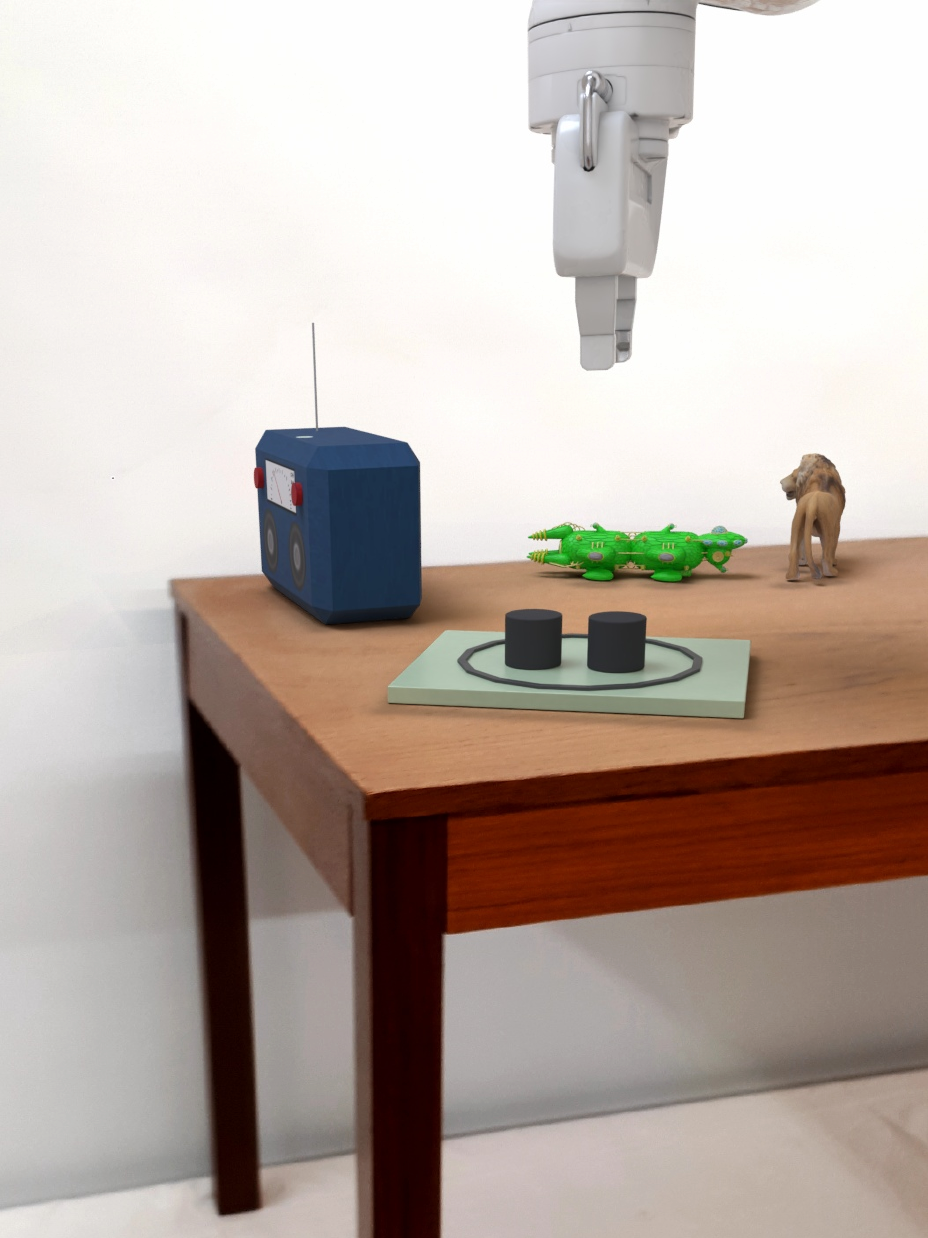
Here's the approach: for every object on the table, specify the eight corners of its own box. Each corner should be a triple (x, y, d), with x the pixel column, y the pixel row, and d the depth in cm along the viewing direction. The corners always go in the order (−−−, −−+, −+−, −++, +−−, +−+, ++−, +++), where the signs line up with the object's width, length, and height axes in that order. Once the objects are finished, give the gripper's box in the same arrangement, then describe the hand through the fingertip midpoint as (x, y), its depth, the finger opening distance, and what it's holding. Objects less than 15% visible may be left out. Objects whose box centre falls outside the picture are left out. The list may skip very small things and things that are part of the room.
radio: (250, 584, 121) (235, 323, 114) (352, 576, 124) (344, 321, 116) (314, 632, 103) (301, 325, 95) (432, 622, 106) (429, 323, 98)
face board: (750, 655, 94) (751, 636, 94) (743, 718, 80) (745, 697, 79) (445, 644, 99) (445, 627, 98) (387, 703, 84) (386, 682, 84)
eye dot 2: (646, 661, 89) (649, 611, 87) (641, 674, 86) (644, 623, 84) (590, 659, 89) (592, 610, 88) (583, 672, 86) (585, 621, 85)
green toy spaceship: (746, 584, 118) (750, 529, 116) (523, 580, 121) (523, 527, 119) (743, 570, 124) (747, 518, 122) (531, 567, 127) (532, 516, 125)
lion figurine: (773, 557, 131) (781, 451, 127) (834, 557, 130) (844, 451, 126) (786, 585, 117) (795, 468, 114) (855, 586, 116) (866, 468, 113)
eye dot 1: (564, 658, 90) (566, 609, 89) (557, 671, 87) (558, 620, 85) (509, 656, 90) (510, 608, 89) (500, 669, 87) (500, 618, 86)
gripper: (655, 58, 69) (648, 373, 74) (681, 108, 87) (674, 357, 92) (521, 69, 70) (524, 377, 75) (574, 115, 88) (574, 361, 94)
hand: (607, 366), depth 84 cm, fingers open, 8 cm apart
